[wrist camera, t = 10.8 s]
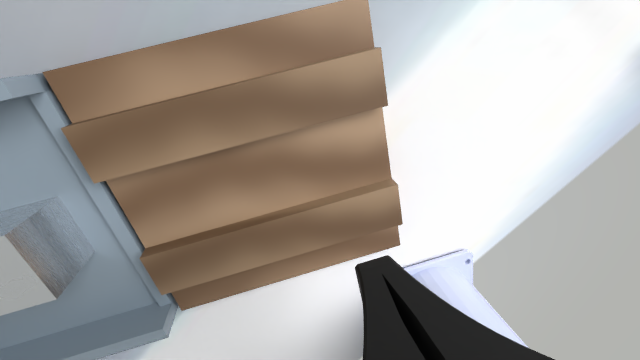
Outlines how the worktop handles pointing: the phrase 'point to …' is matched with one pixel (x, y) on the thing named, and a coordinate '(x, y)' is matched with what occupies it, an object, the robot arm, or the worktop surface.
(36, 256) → the chip
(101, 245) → the tray
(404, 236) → the worktop surface
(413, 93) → the worktop surface
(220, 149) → the slot board
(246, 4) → the worktop surface
